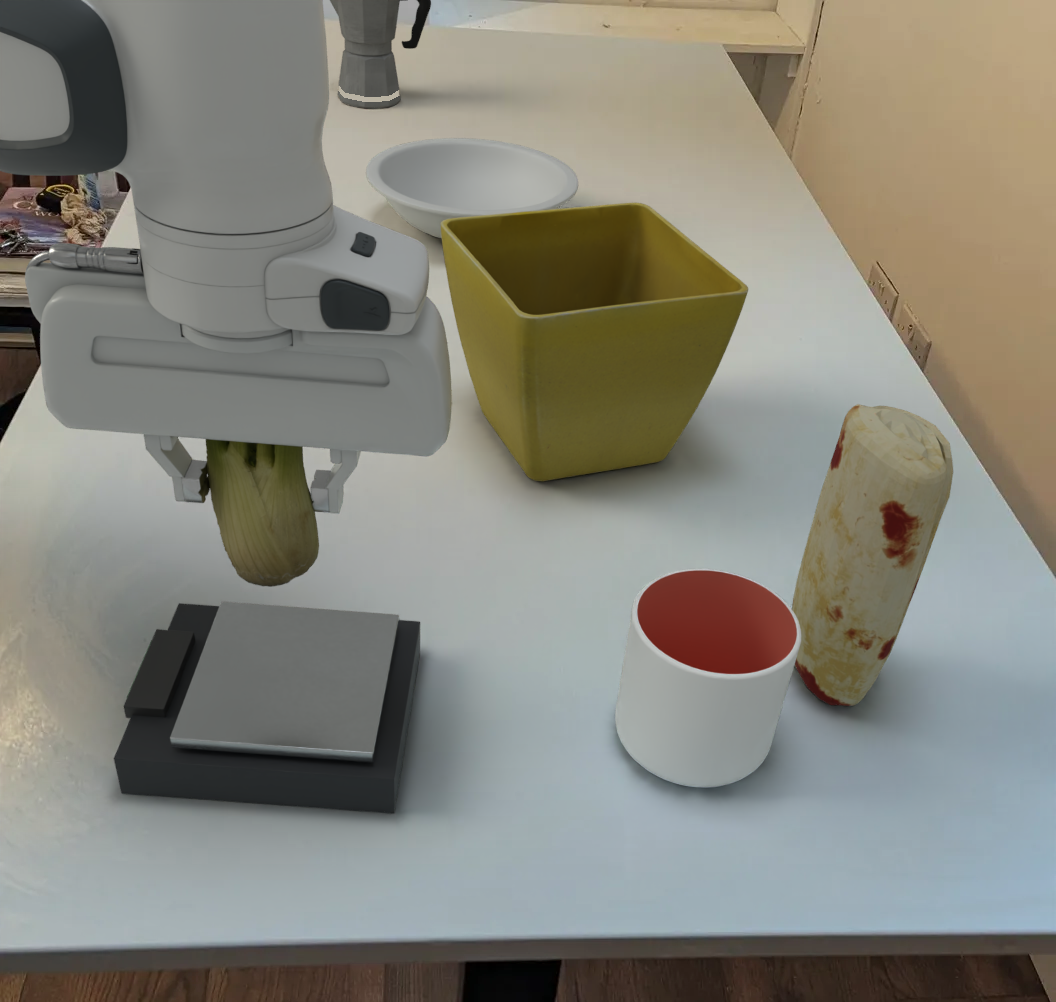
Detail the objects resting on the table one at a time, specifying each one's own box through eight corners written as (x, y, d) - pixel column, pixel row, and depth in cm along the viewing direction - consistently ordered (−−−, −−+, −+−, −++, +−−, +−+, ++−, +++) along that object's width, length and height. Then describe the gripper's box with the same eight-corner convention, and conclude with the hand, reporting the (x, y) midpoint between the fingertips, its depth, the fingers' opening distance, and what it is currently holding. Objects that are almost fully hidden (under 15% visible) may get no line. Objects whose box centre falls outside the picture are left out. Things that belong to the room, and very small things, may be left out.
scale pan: (170, 747, 68) (169, 738, 67) (222, 609, 77) (221, 600, 77) (373, 763, 68) (373, 753, 67) (399, 623, 77) (399, 614, 77)
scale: (112, 793, 69) (102, 749, 67) (176, 636, 80) (169, 594, 77) (394, 813, 69) (394, 771, 67) (420, 654, 80) (420, 613, 78)
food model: (756, 634, 84) (819, 385, 72) (842, 625, 86) (919, 380, 73) (810, 731, 77) (891, 474, 64) (903, 720, 78) (1000, 466, 66)
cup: (784, 796, 72) (822, 677, 66) (624, 798, 71) (646, 678, 65) (748, 684, 80) (778, 567, 74) (602, 684, 79) (620, 566, 73)
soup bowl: (408, 284, 125) (408, 223, 121) (340, 201, 141) (338, 145, 137) (608, 260, 133) (615, 202, 129) (522, 184, 150) (526, 131, 146)
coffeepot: (318, 105, 169) (312, -35, 157) (329, 86, 176) (324, -50, 165) (426, 114, 169) (427, -25, 157) (432, 94, 176) (434, -40, 165)
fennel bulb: (206, 558, 67) (181, 369, 60) (280, 528, 70) (265, 343, 62) (261, 610, 64) (242, 418, 56) (337, 576, 67) (328, 388, 59)
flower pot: (432, 396, 107) (436, 216, 96) (621, 371, 113) (644, 198, 103) (508, 513, 94) (522, 318, 83) (717, 476, 100) (755, 291, 89)
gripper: (-9, 267, 53) (49, 520, 61) (448, 304, 53) (441, 550, 62) (41, 214, 58) (88, 455, 66) (459, 248, 58) (451, 484, 67)
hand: (261, 501), depth 64 cm, fingers closed on fennel bulb, 6 cm apart
